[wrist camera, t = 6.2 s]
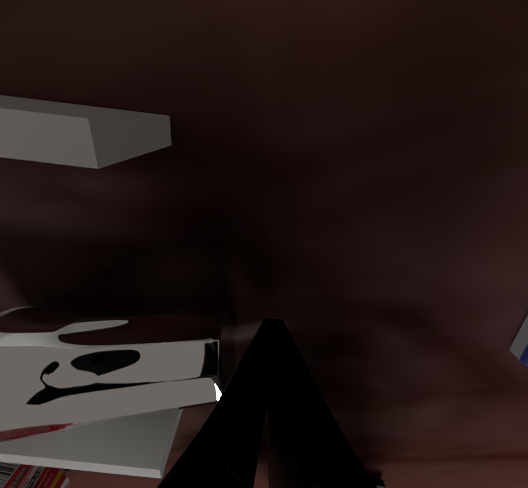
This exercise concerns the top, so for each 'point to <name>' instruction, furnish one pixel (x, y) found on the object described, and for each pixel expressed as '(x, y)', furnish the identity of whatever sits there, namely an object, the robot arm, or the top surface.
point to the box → (96, 156)
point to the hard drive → (521, 343)
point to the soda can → (32, 476)
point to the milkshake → (109, 364)
